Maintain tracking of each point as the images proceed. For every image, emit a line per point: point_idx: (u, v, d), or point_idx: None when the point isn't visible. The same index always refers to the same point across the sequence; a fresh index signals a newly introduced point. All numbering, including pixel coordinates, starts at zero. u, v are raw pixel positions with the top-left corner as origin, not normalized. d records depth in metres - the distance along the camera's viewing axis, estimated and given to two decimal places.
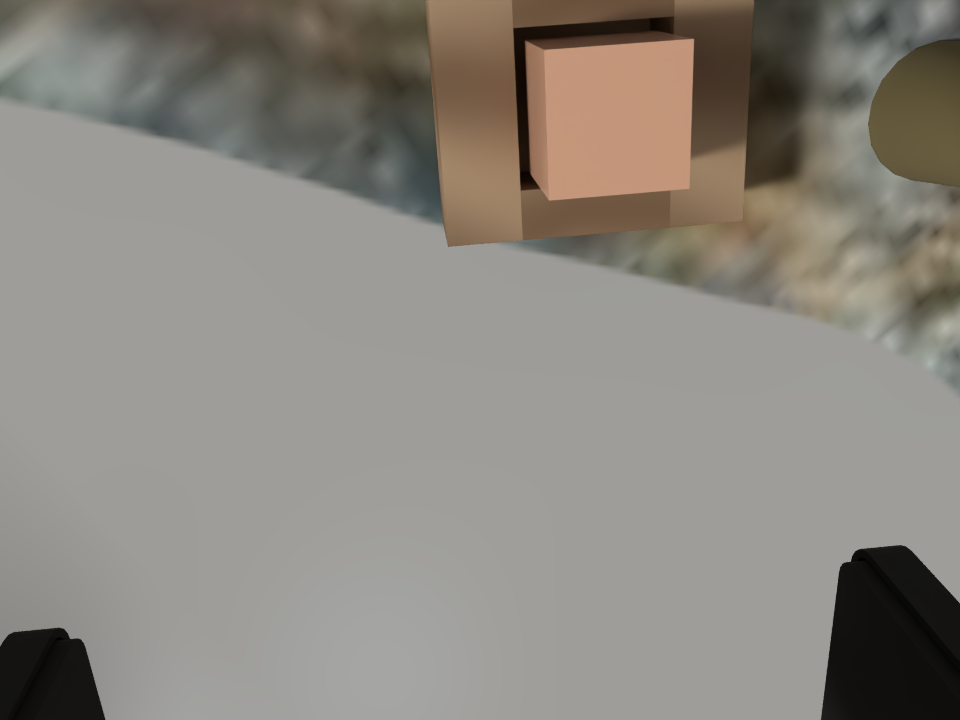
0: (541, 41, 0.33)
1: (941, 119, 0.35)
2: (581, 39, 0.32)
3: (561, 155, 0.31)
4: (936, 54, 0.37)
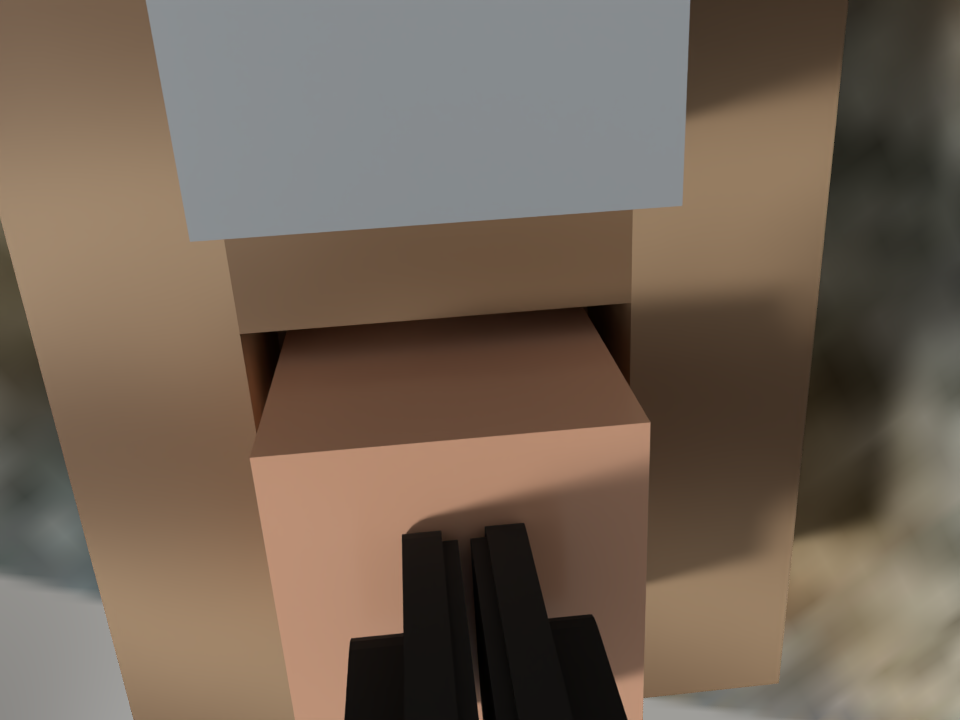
0: (311, 345, 0.14)
1: None
2: (397, 350, 0.14)
3: (322, 675, 0.12)
4: None
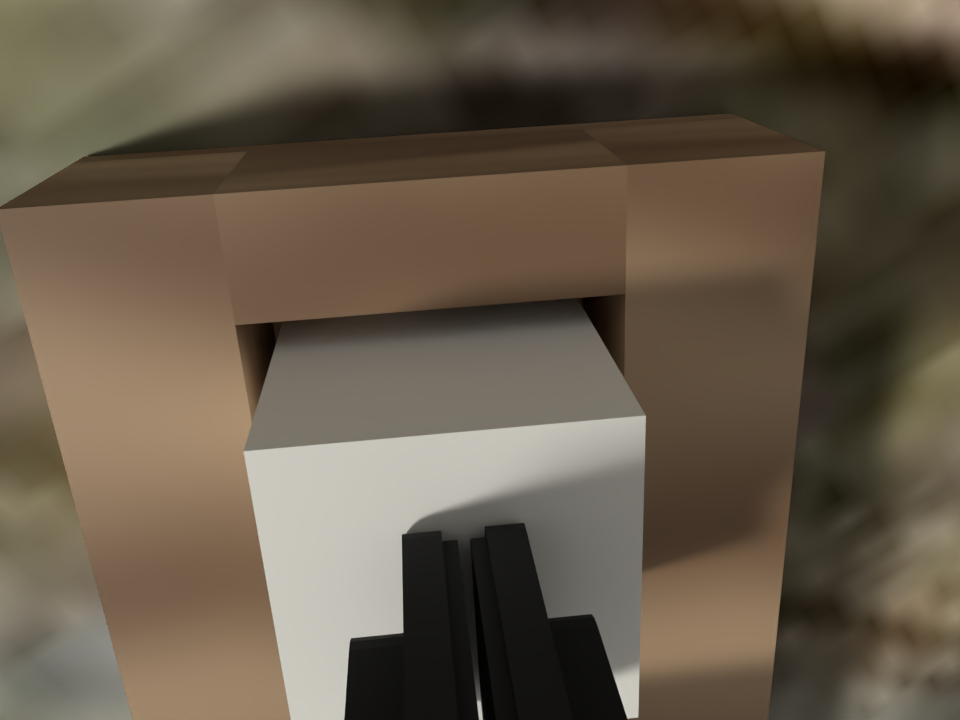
0: None
1: None
2: None
3: None
4: None
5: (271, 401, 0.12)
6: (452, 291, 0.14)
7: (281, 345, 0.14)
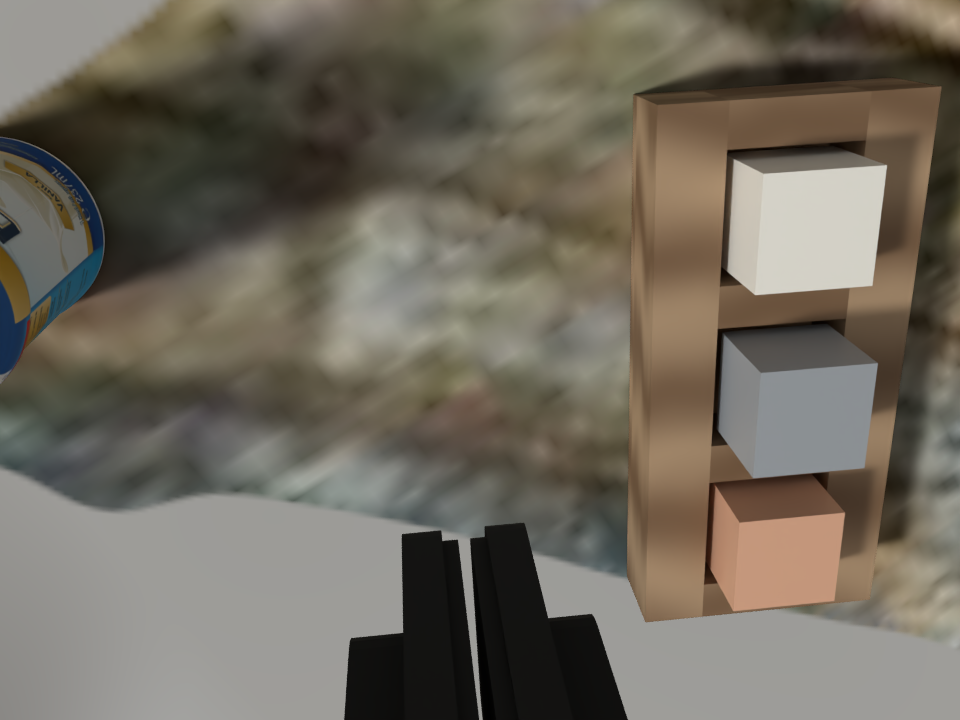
0: (723, 482, 0.45)
1: None
2: (754, 485, 0.44)
3: (744, 584, 0.43)
4: None
5: (755, 167, 0.37)
6: (804, 138, 0.38)
7: (735, 158, 0.38)
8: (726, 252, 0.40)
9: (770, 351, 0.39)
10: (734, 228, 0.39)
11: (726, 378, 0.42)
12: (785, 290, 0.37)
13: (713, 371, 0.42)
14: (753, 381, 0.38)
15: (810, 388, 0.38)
